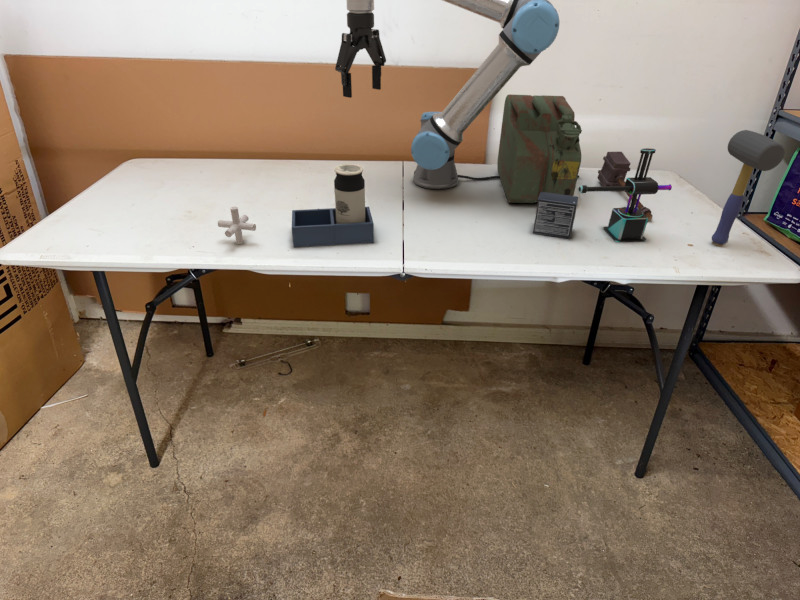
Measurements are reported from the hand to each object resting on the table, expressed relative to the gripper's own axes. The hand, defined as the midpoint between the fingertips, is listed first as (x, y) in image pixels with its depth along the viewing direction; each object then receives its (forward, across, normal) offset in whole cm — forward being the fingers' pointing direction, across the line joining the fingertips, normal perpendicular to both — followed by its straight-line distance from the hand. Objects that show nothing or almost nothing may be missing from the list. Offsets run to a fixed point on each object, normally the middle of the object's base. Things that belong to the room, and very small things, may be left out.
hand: (362, 92), depth 155 cm
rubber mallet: (+31, -30, +101) cm, 110 cm away
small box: (+31, -9, +61) cm, 69 cm away
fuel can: (+31, -37, +42) cm, 64 cm away
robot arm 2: (+31, -17, +75) cm, 83 cm away
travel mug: (+30, +28, +18) cm, 44 cm away
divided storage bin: (+31, +31, +14) cm, 46 cm away
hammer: (+31, -46, +71) cm, 90 cm away
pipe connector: (+31, +50, -3) cm, 58 cm away
